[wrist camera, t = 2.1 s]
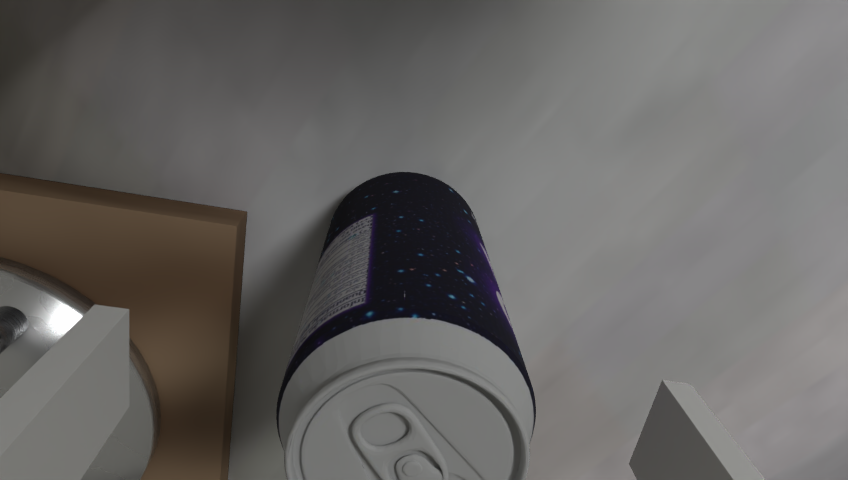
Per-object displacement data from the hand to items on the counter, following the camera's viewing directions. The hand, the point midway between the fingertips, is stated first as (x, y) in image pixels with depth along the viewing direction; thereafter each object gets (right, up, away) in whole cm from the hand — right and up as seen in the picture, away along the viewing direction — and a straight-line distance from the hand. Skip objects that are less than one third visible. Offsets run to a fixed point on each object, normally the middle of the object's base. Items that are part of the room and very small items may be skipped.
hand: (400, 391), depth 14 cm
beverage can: (0, +4, +8) cm, 9 cm away
